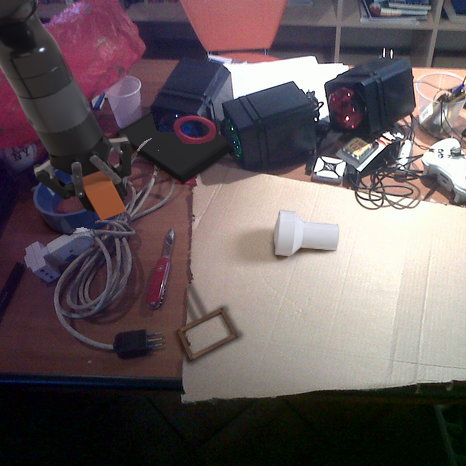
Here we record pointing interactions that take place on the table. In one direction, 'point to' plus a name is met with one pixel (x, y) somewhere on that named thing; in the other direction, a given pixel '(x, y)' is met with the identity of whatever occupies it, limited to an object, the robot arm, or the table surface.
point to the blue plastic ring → (63, 223)
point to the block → (103, 195)
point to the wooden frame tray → (214, 346)
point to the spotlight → (302, 234)
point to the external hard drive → (174, 149)
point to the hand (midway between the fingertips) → (107, 202)
